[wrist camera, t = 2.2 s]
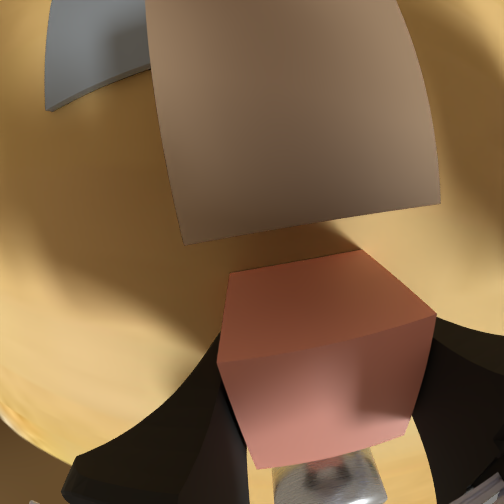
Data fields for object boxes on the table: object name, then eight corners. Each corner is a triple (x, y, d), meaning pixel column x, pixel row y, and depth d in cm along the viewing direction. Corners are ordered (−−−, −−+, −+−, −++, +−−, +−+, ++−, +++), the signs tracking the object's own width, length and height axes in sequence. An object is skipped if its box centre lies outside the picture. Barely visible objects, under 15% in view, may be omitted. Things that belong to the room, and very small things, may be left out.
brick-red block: (361, 249, 10) (436, 314, 5) (361, 352, 11) (404, 434, 7) (229, 273, 10) (216, 363, 5) (253, 374, 12) (256, 469, 7)
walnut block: (330, 52, 8) (388, -16, 3) (355, 182, 9) (440, 203, 5) (191, 70, 8) (144, -1, 3) (215, 204, 10) (184, 245, 5)
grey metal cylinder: (359, 388, 12) (398, 482, 7) (352, 437, 14) (377, 513, 8) (262, 407, 12) (268, 512, 7) (274, 453, 14) (281, 534, 8)
